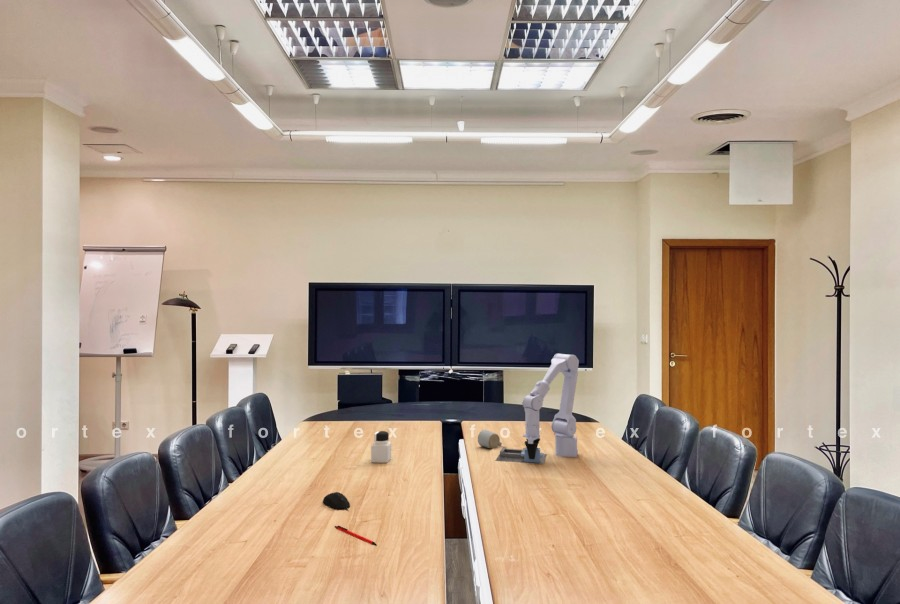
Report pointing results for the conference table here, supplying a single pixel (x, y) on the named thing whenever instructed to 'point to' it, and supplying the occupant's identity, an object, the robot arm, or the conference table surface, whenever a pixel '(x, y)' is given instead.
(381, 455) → the medicine bottle
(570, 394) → the robot arm
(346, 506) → the gaming mouse
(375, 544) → the pen
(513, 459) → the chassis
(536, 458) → the servo
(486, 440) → the ceramic mug
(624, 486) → the conference table surface
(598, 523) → the conference table surface
